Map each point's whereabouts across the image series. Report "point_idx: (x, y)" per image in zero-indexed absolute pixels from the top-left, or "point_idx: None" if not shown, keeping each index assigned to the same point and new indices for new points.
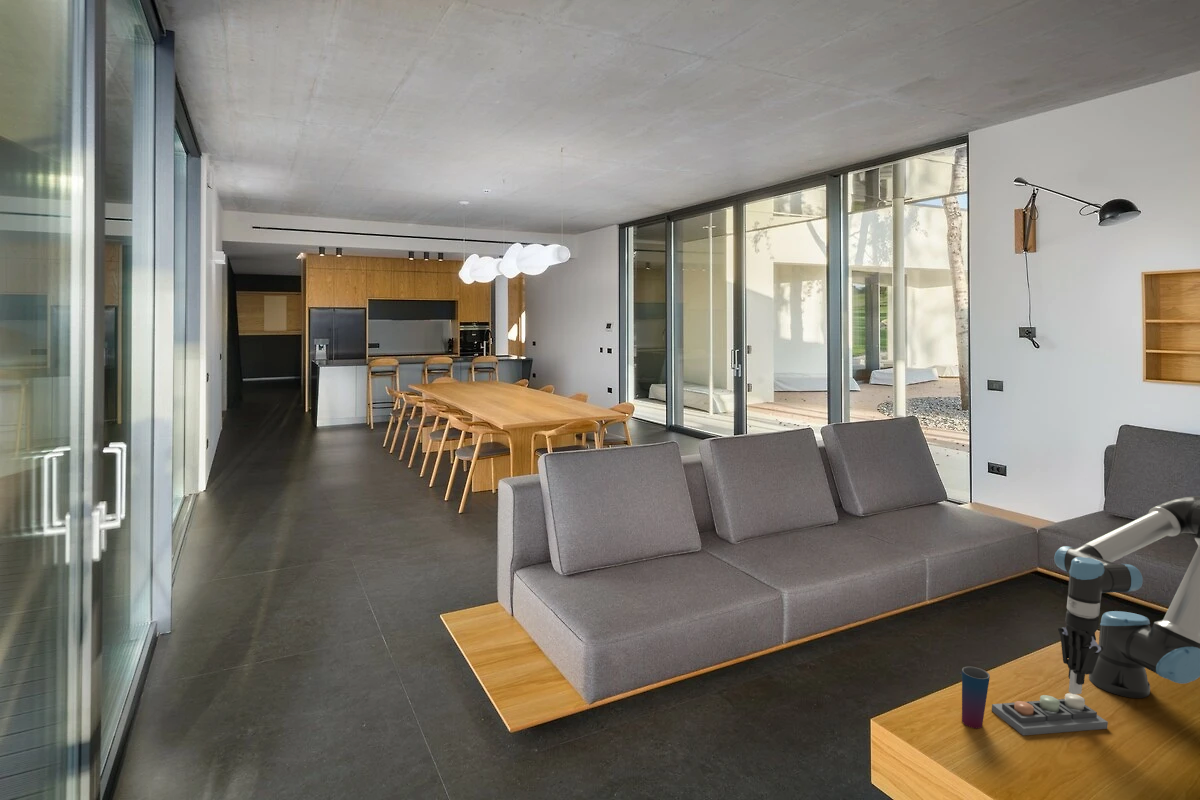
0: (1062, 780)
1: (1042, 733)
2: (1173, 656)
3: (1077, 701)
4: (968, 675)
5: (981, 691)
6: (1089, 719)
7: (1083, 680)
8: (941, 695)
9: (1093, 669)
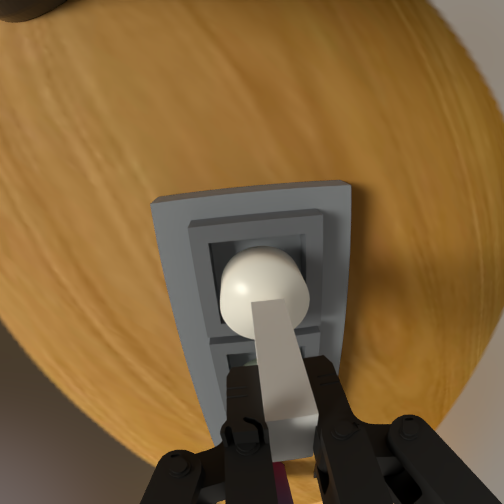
0: (440, 405)
1: None
2: None
3: (301, 316)
4: None
5: None
6: (326, 252)
7: (338, 383)
8: None
9: (450, 450)
